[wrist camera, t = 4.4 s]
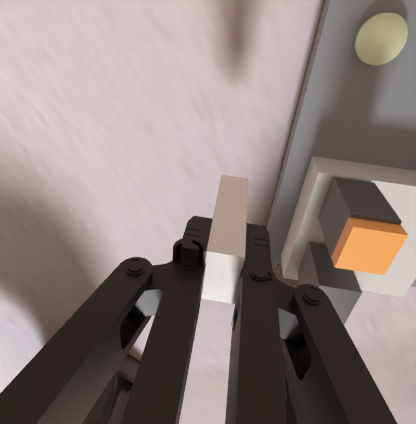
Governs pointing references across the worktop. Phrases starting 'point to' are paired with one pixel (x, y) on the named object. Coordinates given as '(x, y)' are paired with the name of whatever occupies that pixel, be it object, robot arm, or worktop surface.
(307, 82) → the panel board
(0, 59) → the worktop surface
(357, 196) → the block
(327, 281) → the block
